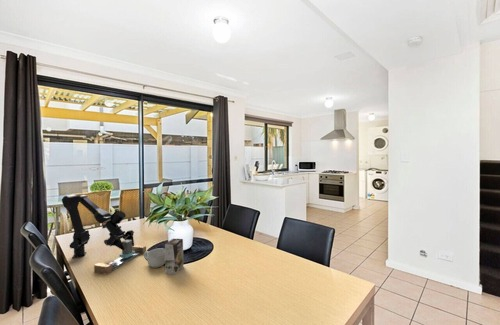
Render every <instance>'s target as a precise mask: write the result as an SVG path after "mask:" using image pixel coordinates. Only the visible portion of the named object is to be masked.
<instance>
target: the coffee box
mask: <svg viewBox="0 0 500 325" xmlns="http://www.w3.org/2000/svg"><path fill="white" fill-rule="evenodd" d="M164 249H165V264H164V267H165V269H164V270H165V274H170V275H177V273H178V272H180V271H181V270H182V269H183V268H184V238H172V239H171V240H169V241H167V242H165V244H164Z"/></svg>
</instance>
